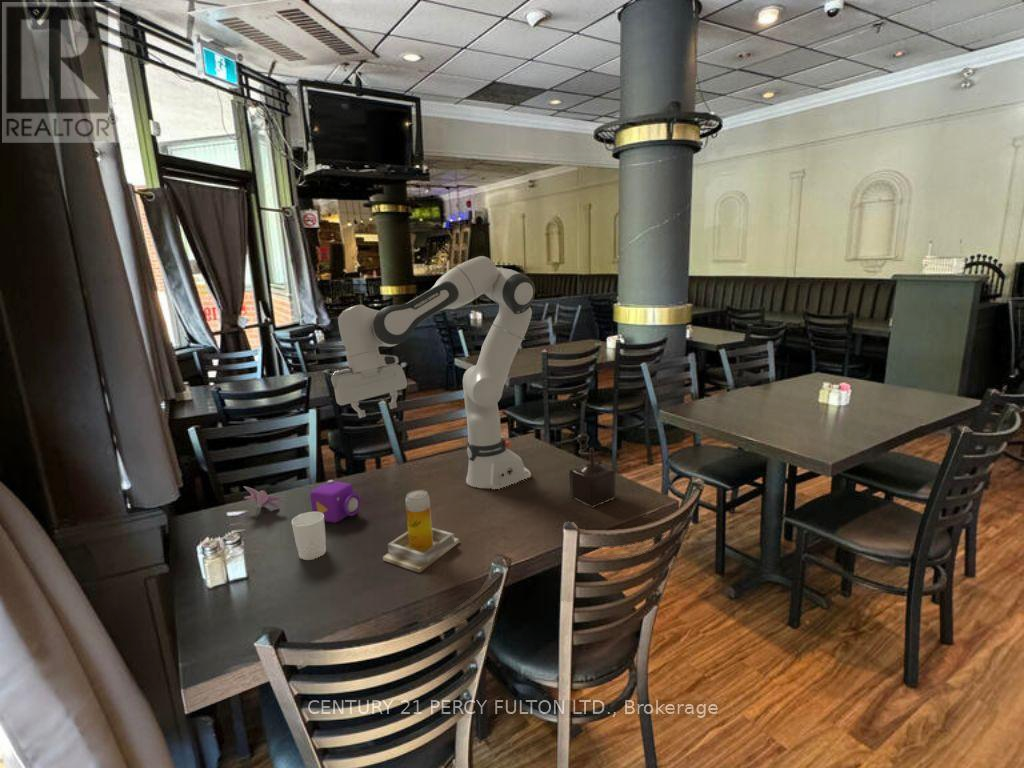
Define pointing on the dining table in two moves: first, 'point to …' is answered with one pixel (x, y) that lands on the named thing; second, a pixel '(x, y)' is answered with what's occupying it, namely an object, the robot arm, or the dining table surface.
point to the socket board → (415, 559)
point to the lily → (262, 498)
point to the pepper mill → (591, 478)
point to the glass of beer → (419, 520)
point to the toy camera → (335, 501)
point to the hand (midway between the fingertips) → (378, 412)
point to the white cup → (309, 535)
